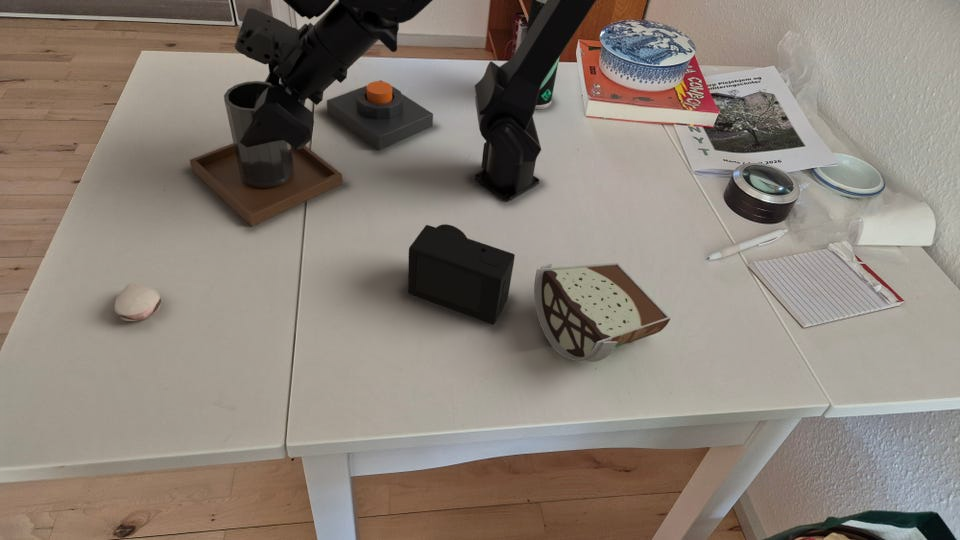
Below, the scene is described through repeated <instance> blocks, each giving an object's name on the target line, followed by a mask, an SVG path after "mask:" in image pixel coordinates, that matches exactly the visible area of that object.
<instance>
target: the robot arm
mask: <svg viewBox="0 0 960 540" xmlns="http://www.w3.org/2000/svg"><path fill="white" fill-rule="evenodd" d="M282 1H283V2H284V3H285V4H286V5H288V6H289V7H290V8H291V9H292V10H293V11H294V12H295V13H297V14H298V15H299V16H300V17H301V18H307V19H308V20H311V19H313V18H314V17H316V18H319V17H321V18H320V19H318V21H317V22H316V23H314V24H312V22H309V23H308V24H307V23H304V24H303V25H302V26H301V27H300V28H299V29H297V28H296V27H292V26H290V25H289V24H288V23H286V22H285V21H283V20H280V19H279V18H276V17H273V16H271V15H269V14H268V13H265V12H262V11H260V10H258V9H255V8H247V9H246V11H245V15H244V17H243V19H242V23H241V25H240V28H239V31H238V34H237V37H236V40H235V43H234V49H235V50H236V52H238V53H240V54H241V55H244V56H245V57H246V58H249V59H251V60H254V61H255V62H258V63H260V64H263V65H268V74H267V76H266V79H265V81H264V82H269V83H272V84H274V85H277V86H278V87H268V88H267V89H266V90H265V91H264V92H263V93H262V94H261V95H259V94H258V95H257V98H256V102H255V105H254V113H253V114H254V116H255V119H254V120H253V122H252V123H251V124H250V126H249V127H248V129H247V130H246V132H245V133H244V135H243V136H242V138H241V139H240V143H241V144H243V145H244V146H245V147H251V146H256V145H260V144H265V143H270V142H274V141H281V140H284V141H286V142H287V143H288V144H290V145H291V146H292V147H294V148H295V149H301V148H302V147H304V146H307V144H308V143H309V142H311V141H312V137H313V132H314V126H315V119H314V118H315V117H314V112H312V111H311V109H309V108H308V107H306V100H307V99H308V100H309V101H310V102H312V103H313V104H314V105H316V106H317V105H319V104H320V103H321V102H322V101H323V98H324V92H325V91H326V90H327V89H328V88H329V87H330V86H331V85H332V84H334V83H335V82H336V81H338V82H339V84H342V83H343V82H344V81H345V80H346V79H347V78H348V69H350V68H351V67H352V65H354V64H355V63H356V62H357V61H358V60H359V59H360V58H361V57H362V56H363V55H364V54H366V53H367V52H368V51H369V50H370V49H371V48H372V47H373V46H374V45H376V43H377V42H378V41H380V42H381V43H382V44H383V45H384V46H385V47H386V48H387V49H388V50H389V51H390V52H392V53H396V52H397V51H398V32H399V29H400V24H404V23H406V22H409V21H412V19H414V18H415V17H417V15H419V13H421V12H422V11H423V10H424V9H425V8H426V7H427V6H428V5H430V4H431V3H432V2H433V1H434V0H338V1H337V2H335V1H336V0H282ZM596 2H597V0H547V1H546V3H545V5H544V6H543V8H542V10H541V11H540V13H539V15H538V16H537V18H536V20H535V21H534V23H533V24H532V26H531V28H530V29H529V31H528V33H527V34H526V33H525V36H524V38H523V39H522V41H521V42H520V44H519V46H518V47H517V49H516V50H515V52H514V54H513V56H512V57H511V58H510V59H509V60H507V61H506V62H505V63H503V64H501V65H500V66H499V65H497V63H495V62H494V61H489V62H488V65H487V67H486V68H485V69H486V70H485V71H484V74H483V75H482V78H481V79H480V80H479V81H478V82H476V83H475V84H474V91H475V99H474V103H475V109H476V116H477V122H478V123H477V124H478V129H479V132H480V135H481V136H482V138H483V139H484V140H485V142H484V143H483V149H482V157H481V169H482V170H481V171H479V172H477V173H475V174H474V177H473V178H474V179H473V180H475V181H476V182H477V183H479V184H481V185H482V186H484V187H486V188H487V189H488V190H489V191H491V192H493V193H494V194H496V195H497V196H499V198H501V199H503V200H504V201H506V202H510V201H512V200H513V199H515V198H517V197H519V196H520V195H523V194H524V193H525V192H528V191H529V190H531V189H533V188H534V187H536V186H537V185H539V184H540V179H539V178H538V177H537V176H535V175H534V174H535V169H536V162H537V158H538V156H539V155H540V153H541V151H542V147H541V143H540V139H539V135H538V131H537V127H536V124H535V123H536V122H535V120H534V117H533V116H534V113H535V110H536V109H535V107H536V103H537V99H538V95H539V91H540V87H541V85H542V83H543V81H544V79H545V78H546V76H547V75H548V73H549V72H550V70H551V69H552V67H553V66H554V64H555V63H556V61H557V60H558V58H559V57H561V55H562V54H563V52H564V51H565V49H566V48H567V46H568V45H569V43H570V41H571V40H572V39H573V37H574V35H575V34H576V33H577V31H578V29H579V28H580V26H581V24H582V23H583V22H584V20H585V19H586V17H587V16H588V14H589V13H590V11H591V10H592V8H593V6H594V5H595V4H596ZM333 3H334V4H333ZM332 4H333V6H332ZM330 7H331V8H330ZM328 9H329V10H328ZM327 10H328V11H327ZM326 11H327V12H326ZM323 14H324V15H323ZM559 59H560V58H559Z"/></svg>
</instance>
